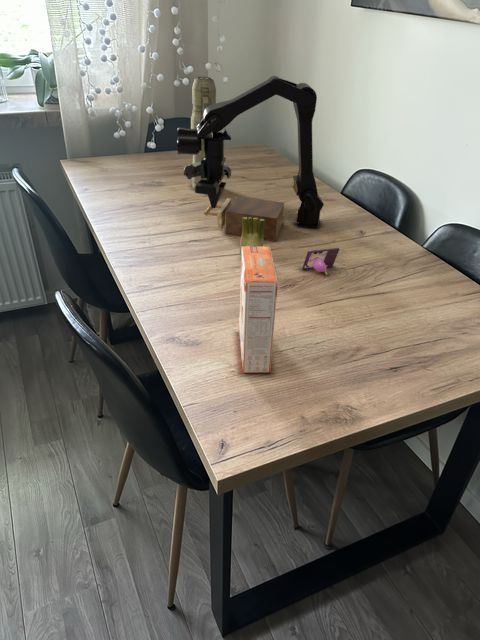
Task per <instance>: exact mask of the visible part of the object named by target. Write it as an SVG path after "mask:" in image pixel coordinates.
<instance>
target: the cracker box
mask: <svg viewBox="0 0 480 640" xmlns="http://www.w3.org/2000/svg"><path fill="white" fill-rule="evenodd" d="M240 258H241V259H240V289H239V290H240V291H239V293H240V294H239V295H240V296H239V300H240V301H239V327H238V333H239V345H240V346H239V347H240V357H241V368H242V374H270V373H271V371H272V359H273V358H272V357H273V345H274V333H275V331H274V330H275V320H276V309H277V298H278V287H279V286H278V285H279V282H278V277H277V273H276V269H275V268H276V267H275V264H274V260H273V255H272V251H271V246H263V247H254V246H242V251H241V255H240Z"/></svg>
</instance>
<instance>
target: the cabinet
mask: <svg viewBox="0 0 480 640" xmlns="http://www.w3.org/2000/svg"><path fill="white" fill-rule="evenodd" d="M284 209H285V202H282V201H275V200H267V199H260V198H252V197H245V196H238V195H236V196H235V198H234V199H233V201H231V205H230V207H229V208H228V210H227V211H226V230H225V235H230V236H237V237H241V236H242V218H243V217H247V224H248V218H249V217H251V218H252V232H253V218H258V231H259V225H260V219H263V220H265V223H264V234H263V239H264V240H265V241H271V242H272V241H273V242H276V240H277V238H278V235H279V233H280V230H281V228H282V226H283V221H284V211H285V210H284Z"/></svg>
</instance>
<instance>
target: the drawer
mask: <svg viewBox="0 0 480 640" xmlns="http://www.w3.org/2000/svg"><path fill="white" fill-rule="evenodd" d="M231 204H232V198H229V197H227V198H226V200H225V201H224V203H223V204H222V205H217V206H216V208H215V209H218V211H217V212H211V211H212V210H213V209H214V208H212V207H211V204H209V206H208V207H207V208H206V210H205V211H204V213H203V215H204V216H206V217H207V216H216V217H217V230H218V231H222V230H223V228H224V230H225V231H226V211H227V210H228V208H229V207H230V205H231Z"/></svg>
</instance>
